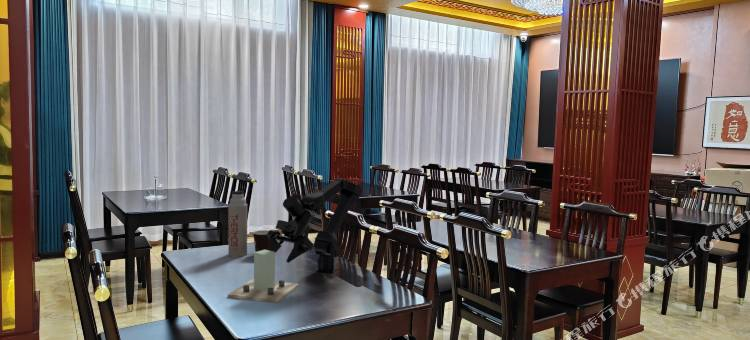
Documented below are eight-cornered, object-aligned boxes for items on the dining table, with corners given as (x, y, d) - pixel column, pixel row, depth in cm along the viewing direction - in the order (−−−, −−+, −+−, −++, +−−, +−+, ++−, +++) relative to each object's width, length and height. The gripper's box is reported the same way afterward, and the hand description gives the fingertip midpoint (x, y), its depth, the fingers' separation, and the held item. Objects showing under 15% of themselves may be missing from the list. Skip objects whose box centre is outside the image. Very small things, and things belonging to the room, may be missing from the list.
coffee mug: (270, 257, 228) (270, 234, 227) (250, 256, 229) (250, 234, 228) (276, 250, 240) (276, 229, 239) (257, 250, 240) (257, 228, 239)
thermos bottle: (238, 257, 226) (238, 193, 224) (224, 255, 230) (224, 191, 228) (251, 253, 234) (251, 191, 231) (237, 251, 237) (237, 189, 235)
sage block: (264, 285, 187) (264, 249, 186) (274, 288, 184) (275, 251, 183) (253, 289, 183) (254, 252, 181) (264, 292, 180) (264, 254, 179)
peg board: (298, 286, 190) (298, 278, 190) (277, 303, 172) (277, 294, 172) (252, 281, 194) (252, 273, 194) (227, 297, 177) (227, 288, 176)
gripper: (270, 208, 196) (247, 243, 188) (307, 214, 185) (285, 251, 177) (285, 225, 203) (264, 260, 195) (322, 232, 192) (301, 269, 184)
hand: (277, 259), depth 188 cm, fingers open, 9 cm apart
